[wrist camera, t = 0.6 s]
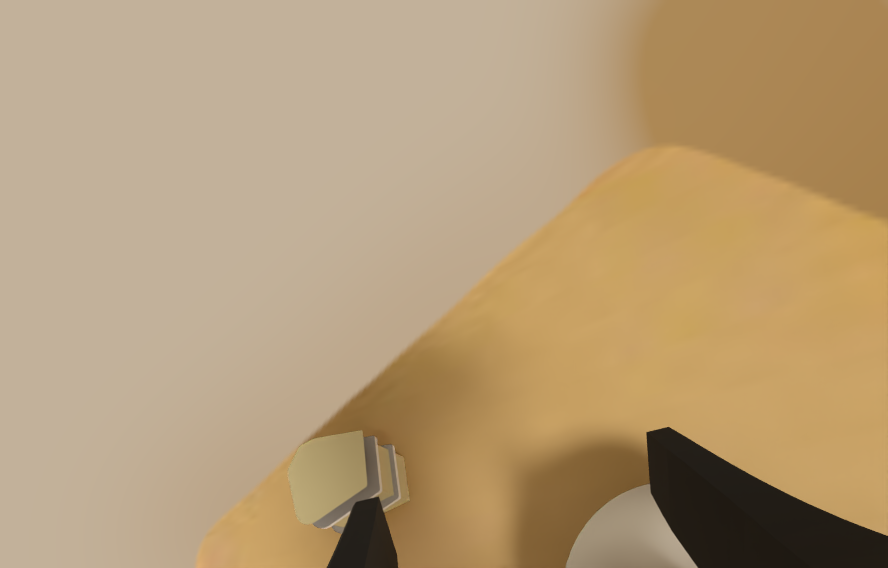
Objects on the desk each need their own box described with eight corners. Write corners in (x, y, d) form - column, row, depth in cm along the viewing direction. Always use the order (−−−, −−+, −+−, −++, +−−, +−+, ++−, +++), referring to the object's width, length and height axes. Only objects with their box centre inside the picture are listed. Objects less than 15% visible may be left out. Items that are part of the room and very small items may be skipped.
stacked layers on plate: (420, 410, 39) (376, 384, 35) (441, 529, 33) (391, 512, 29) (324, 460, 42) (274, 441, 38) (327, 578, 36) (268, 569, 32)
